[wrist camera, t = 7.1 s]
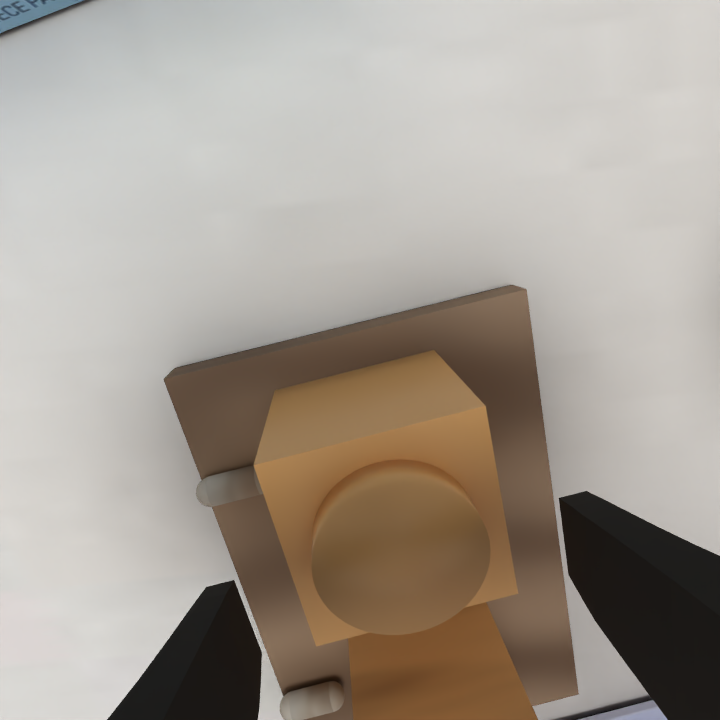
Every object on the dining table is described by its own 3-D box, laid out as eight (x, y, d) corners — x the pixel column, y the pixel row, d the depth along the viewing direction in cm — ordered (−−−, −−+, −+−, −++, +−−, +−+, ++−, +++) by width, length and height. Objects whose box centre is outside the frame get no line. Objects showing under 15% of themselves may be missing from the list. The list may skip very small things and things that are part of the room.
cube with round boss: (462, 489, 17) (535, 625, 11) (317, 526, 17) (315, 683, 11) (434, 349, 15) (502, 423, 10) (275, 390, 15) (246, 489, 9)
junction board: (564, 668, 21) (681, 881, 14) (307, 735, 21) (301, 982, 14) (511, 284, 16) (654, 327, 9) (172, 369, 16) (58, 476, 9)
